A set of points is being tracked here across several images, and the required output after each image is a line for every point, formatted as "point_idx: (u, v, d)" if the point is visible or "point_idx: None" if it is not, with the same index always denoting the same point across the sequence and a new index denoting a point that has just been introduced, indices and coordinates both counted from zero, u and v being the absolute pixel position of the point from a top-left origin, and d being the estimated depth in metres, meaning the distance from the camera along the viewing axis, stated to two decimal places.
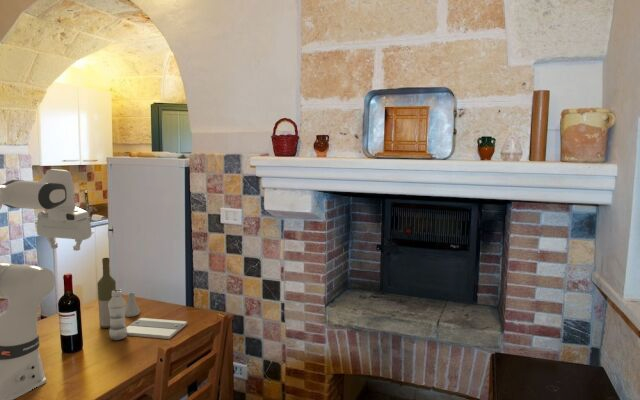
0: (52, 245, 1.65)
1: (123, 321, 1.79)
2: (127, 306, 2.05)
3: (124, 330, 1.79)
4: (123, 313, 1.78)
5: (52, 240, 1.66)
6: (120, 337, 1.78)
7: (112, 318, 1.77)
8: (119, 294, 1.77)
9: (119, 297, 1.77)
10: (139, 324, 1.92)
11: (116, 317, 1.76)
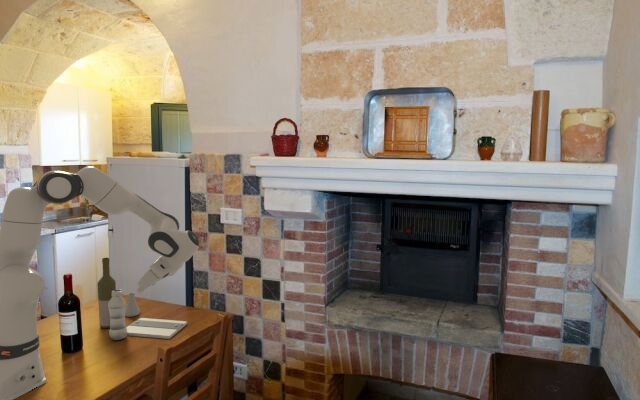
0: None
1: (123, 321, 1.79)
2: (127, 306, 2.05)
3: (124, 330, 1.79)
4: (123, 313, 1.78)
5: None
6: (120, 337, 1.78)
7: (112, 318, 1.77)
8: (119, 294, 1.77)
9: (119, 297, 1.77)
10: (139, 324, 1.92)
11: (116, 317, 1.76)
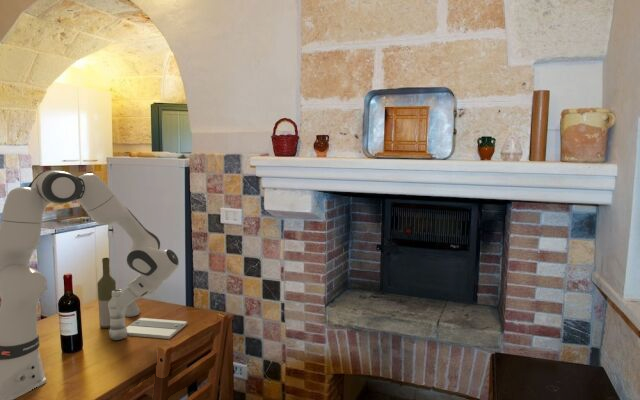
0: None
1: (123, 321, 1.79)
2: (127, 306, 2.05)
3: (124, 330, 1.79)
4: (123, 313, 1.78)
5: None
6: (120, 337, 1.78)
7: (112, 318, 1.77)
8: (119, 294, 1.77)
9: None
10: (139, 324, 1.92)
11: (116, 317, 1.76)
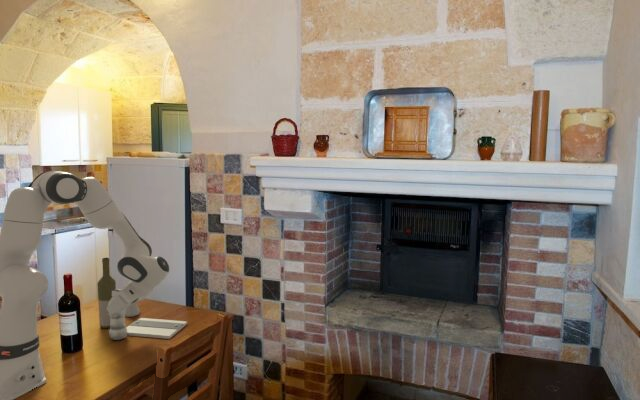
0: None
1: (123, 321, 1.79)
2: None
3: (124, 330, 1.79)
4: (123, 313, 1.78)
5: None
6: (120, 337, 1.78)
7: (112, 318, 1.77)
8: None
9: None
10: (139, 324, 1.92)
11: (116, 317, 1.76)
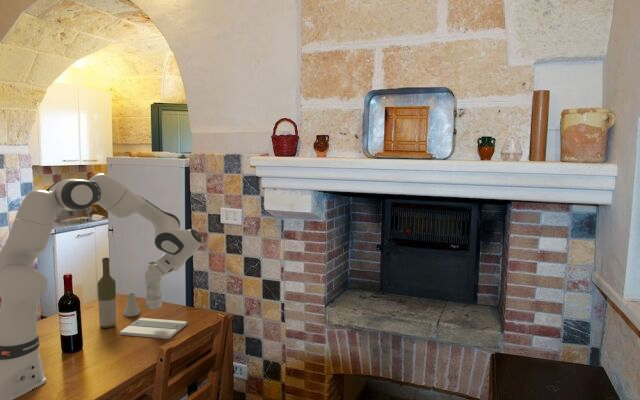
0: None
1: (159, 291, 1.90)
2: (127, 306, 2.05)
3: (160, 300, 1.90)
4: (159, 284, 1.89)
5: None
6: (157, 306, 1.89)
7: (149, 288, 1.87)
8: None
9: None
10: (139, 324, 1.92)
11: (153, 287, 1.87)
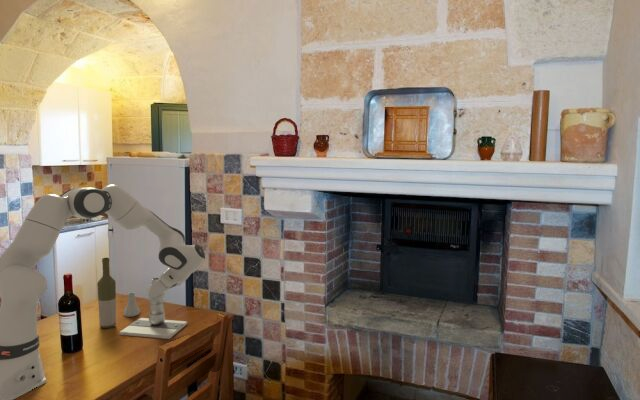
0: None
1: (162, 307, 1.91)
2: (127, 306, 2.05)
3: (163, 315, 1.91)
4: (162, 299, 1.91)
5: None
6: (159, 322, 1.90)
7: (152, 304, 1.89)
8: None
9: None
10: (139, 324, 1.92)
11: (156, 303, 1.89)
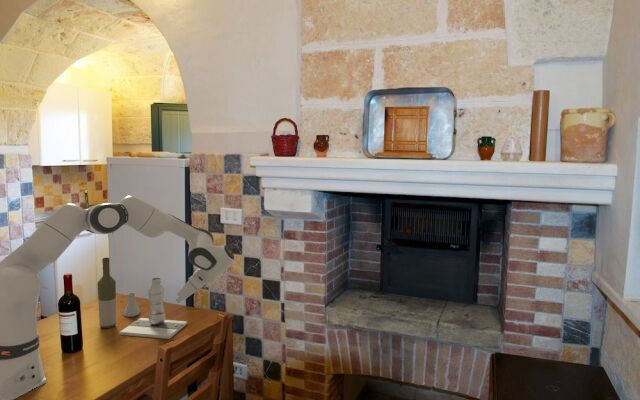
0: None
1: (162, 307, 1.91)
2: (127, 306, 2.05)
3: (163, 315, 1.91)
4: (162, 300, 1.91)
5: None
6: (159, 322, 1.90)
7: (152, 304, 1.89)
8: (158, 282, 1.90)
9: (158, 285, 1.90)
10: (139, 324, 1.92)
11: (156, 303, 1.89)
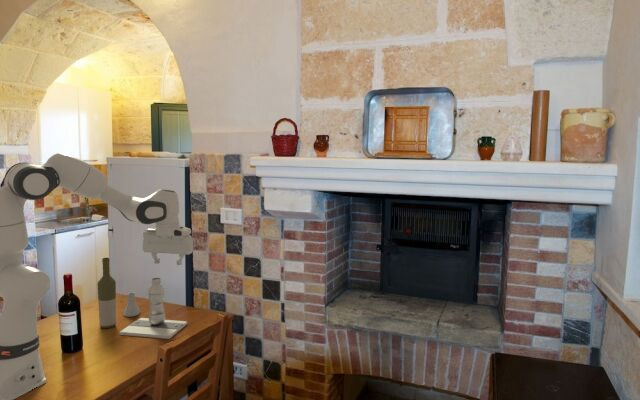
0: (156, 260, 1.77)
1: (162, 307, 1.91)
2: (127, 306, 2.05)
3: (163, 315, 1.91)
4: (162, 300, 1.91)
5: (155, 256, 1.78)
6: (159, 322, 1.90)
7: (152, 304, 1.89)
8: (158, 282, 1.90)
9: (158, 285, 1.90)
10: (139, 324, 1.92)
11: (156, 303, 1.89)
